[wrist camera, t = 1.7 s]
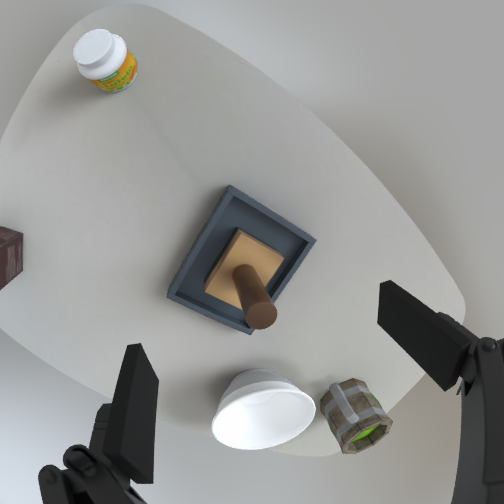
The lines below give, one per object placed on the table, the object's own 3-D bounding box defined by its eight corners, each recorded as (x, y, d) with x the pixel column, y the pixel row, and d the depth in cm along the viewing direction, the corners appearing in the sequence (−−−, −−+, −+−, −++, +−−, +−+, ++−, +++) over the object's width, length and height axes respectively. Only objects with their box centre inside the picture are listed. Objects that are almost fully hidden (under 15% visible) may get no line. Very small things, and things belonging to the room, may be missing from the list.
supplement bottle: (113, 101, 26) (84, 82, 17) (90, 77, 24) (57, 53, 15) (147, 71, 26) (130, 40, 17) (122, 47, 24) (100, 14, 15)
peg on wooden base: (236, 225, 34) (258, 262, 22) (276, 249, 36) (314, 293, 24) (203, 279, 35) (208, 337, 23) (243, 299, 37) (264, 359, 25)
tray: (229, 184, 32) (231, 185, 30) (310, 235, 36) (317, 240, 35) (167, 289, 35) (166, 297, 33) (248, 327, 39) (250, 335, 37)
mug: (370, 392, 51) (397, 429, 40) (329, 419, 52) (350, 459, 40) (349, 356, 46) (382, 400, 34) (299, 389, 46) (322, 438, 35)
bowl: (275, 417, 48) (286, 450, 40) (195, 407, 43) (198, 445, 35) (314, 359, 44) (334, 393, 36) (225, 342, 39) (233, 382, 31)
